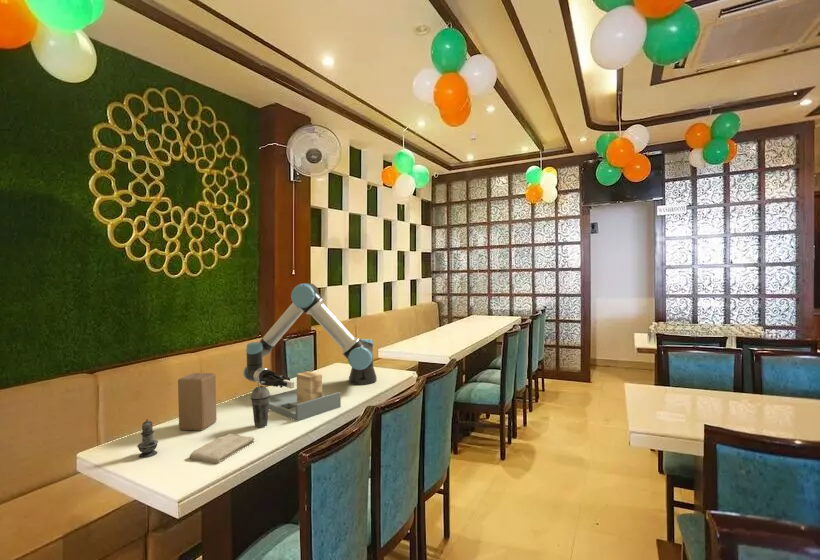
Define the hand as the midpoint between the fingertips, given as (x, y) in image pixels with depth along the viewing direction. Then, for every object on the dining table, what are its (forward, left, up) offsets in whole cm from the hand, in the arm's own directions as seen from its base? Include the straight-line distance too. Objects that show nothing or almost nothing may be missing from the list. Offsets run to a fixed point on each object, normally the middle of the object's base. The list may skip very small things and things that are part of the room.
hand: (292, 385), depth 184 cm
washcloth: (+42, +23, -9) cm, 49 cm away
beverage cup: (+22, +13, -9) cm, 27 cm away
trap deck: (-1, +4, -9) cm, 10 cm away
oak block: (-1, +12, -6) cm, 13 cm away
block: (+38, -6, -9) cm, 40 cm away
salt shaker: (+59, +7, -9) cm, 61 cm away
